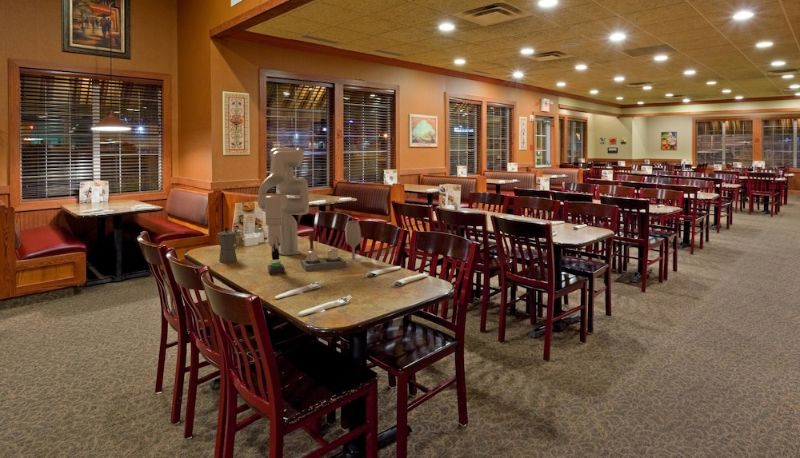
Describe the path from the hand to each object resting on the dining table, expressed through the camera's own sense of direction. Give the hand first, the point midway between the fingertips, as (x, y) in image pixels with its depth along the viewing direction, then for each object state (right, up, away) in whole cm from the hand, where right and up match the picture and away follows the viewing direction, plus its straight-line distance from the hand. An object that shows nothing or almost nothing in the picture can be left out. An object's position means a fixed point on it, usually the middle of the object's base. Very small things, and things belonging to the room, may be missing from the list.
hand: (275, 259), depth 241 cm
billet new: (+17, -4, +8) cm, 19 cm away
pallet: (+21, -5, +10) cm, 24 cm away
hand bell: (+13, -2, +25) cm, 29 cm away
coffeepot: (-32, -2, +27) cm, 42 cm away
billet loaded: (+26, -4, +11) cm, 29 cm away
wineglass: (+35, -3, +23) cm, 42 cm away
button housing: (0, -6, +1) cm, 7 cm away
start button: (0, -4, +1) cm, 4 cm away
